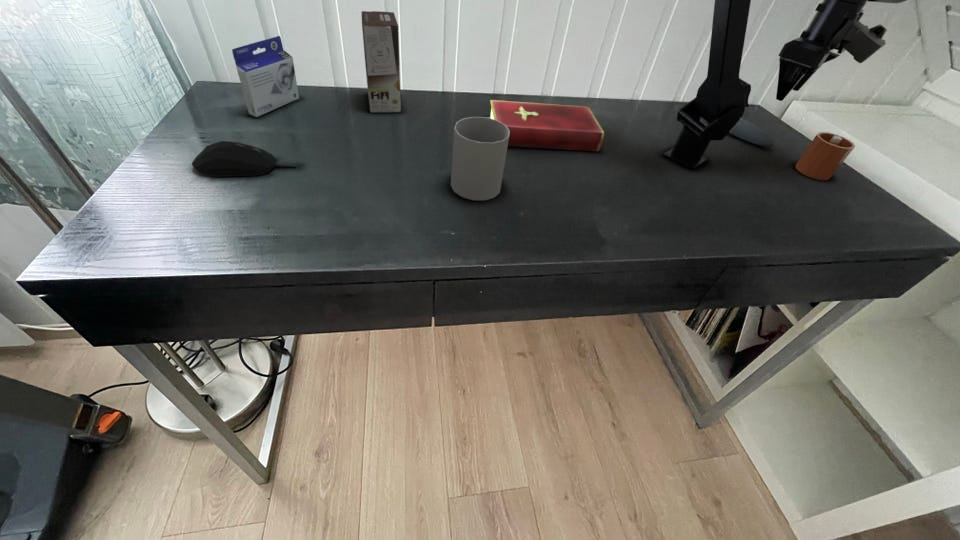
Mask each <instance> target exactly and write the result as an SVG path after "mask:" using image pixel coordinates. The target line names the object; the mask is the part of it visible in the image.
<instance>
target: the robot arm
mask: <svg viewBox="0 0 960 540" xmlns="http://www.w3.org/2000/svg"><path fill="white" fill-rule="evenodd" d="M906 1H907V0H823V1H822V2H819V3H818V4H817V6H816V8H815V10H814V11H816V13H815V14H814V16H813V18H812V20H811V21H810V23H809V25H808V27H807V28H806V29H804V30H803V31H802V32H801V34H800V35H799V37H796V38H794V39H792V40H790V41H788V42H785V43H784V45H783V46H782V48H781V50H780V52H779V53H778V57H779V58H778V61H779V64H778V65H779V67H778V79H777V87H776V95H775V99H776V101H779V102H782V101H784V100H785V98H786V97H787V96H788V95H789V94H790V93H791V92H792V91H795V92H798V91H800V90H801V88H802V87H803V86H805V84H806V83H807V82H808V81H809V80H810V79H811V78H812V76H813V75H815V73H816V72H817V71H818V70H819V69H820V68H821V67H822V66H823V65H824V64H826V63H827V62H830V61H833V60H835V59H836V58H839V57H841V54H843V53H845V51H846V52H848V54H849V55H851V56H852V57H853V60H854V61H856V62H857V63H859V64H862V63H864V62H865V61H867V60H868V59H869V58H870V57H872V56H873V55H874V54H875V53H877V52H878V51H879V50H880V49H881V48H882V47H884V46H885V45H887V43H886V40H885V39H883V38H884V36H885V34H886V32H887V31H888V29H887V28H886V27H885V26H883V25H882V24H880V23H879V24H877V25H875V26H873V27H870V28H869V26H868V25H865V24H863V22H861V19H862V18H863V16H864V14H865V12H864V11H865V9H864V7H865V6H866V5H867V3H868V2H871V3H884V4H901V3H903V2H906ZM751 2H752V0H714V6H713V15H712V26H711V34H710V35H711V36H710V43H709V44H710V47H709V55H708V65H707V74H706V77H705V79H704V80H703V82H702V83H701V84H700V85H699V87H698V88H697V91H696V96H695V97H694V98H693V99H691V100H690V101H689V102H687V103H686V104H685V105H683V106H682V107H681V108H679V109H678V111H677V116H676V120H677V122H679V123H681V124H682V125H683V126H682V128H681V130H680V133H679V135H678V136H677V138H676V141H675V143H674V145H673V148H670V149H669V150H668V151H665V152H664V153H663V157H665V158H666V159H669V160H671V161H672V162H675V163H677V164H679V165H681V166H683V167H684V168H686V169H689V170H695V169H697V168H698V167H699V166H701V165H703V164H704V163H705V162H706V161H707V160H708V158H707V157H705V156H704V154H705V153H706V150H707V149H708V147H709V145H710V143H711V142H712V141H722V140H724V138H725V137H726V136H727V135H728V134H730V133H729V132H730V130H731V129H732V128H733V127H734V126H735V125H736V124H737V122H738V121H739V120H740V119H741V118H742V119H743V116H744V114H745V111H746V108H748V107H749V106H750V105H749V104H750V103H749V97H750V94H751V92H752V84H750V83H749V82H747V81H746V80H743V79H742V78H740V72H741V65H742V59H743V52H744V46H745V40H746V34H747V29H748V21H749V15H750V8H751V4H752V3H751ZM834 50H836V51H837V52H834ZM701 117H702V118H703V119H704V120H706V121H707V122H708V123H710V124H709V125H708V124H706V123H705V122H704V121H702V120H701V119H700V118H701Z"/></svg>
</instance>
